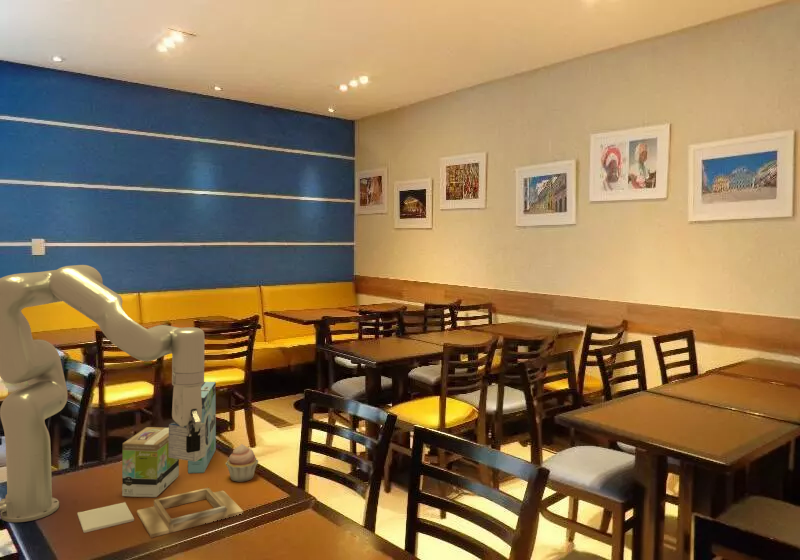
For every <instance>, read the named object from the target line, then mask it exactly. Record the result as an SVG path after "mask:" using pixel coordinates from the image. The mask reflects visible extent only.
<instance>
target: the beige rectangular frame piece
mask: <svg viewBox="0 0 800 560" xmlns="http://www.w3.org/2000/svg"><path fill="white" fill-rule="evenodd" d="M202 500H207V501H208V503H209V504H210V505H211V506H212V507H213V508H209V509H206V510H201V511H197V512H193V513H189V514H185V515H181V516H177V517H173V518H172V517H171V516H170V515H169V513H168V512H167V510H166V509H168V508H173V507H177V506H181V505H182V506H183V505H185V504H189V503H194V502H197V501H198V502H199V501H202ZM242 513H243V514H244V510H243V509H242V508H241V507H240V506H239V505H238V504H237V502H235V501H234V499H233V498H231V497H230V496H229V494H227V492H226V491H224V490H219V491H213V490H211V488H210V487H205V488H200V489H196V490H192V491H191V490H190V491H187V492H181V493H178V494H177V493H176V494H173V495H169V496H165V497H161V498H156V499H153V506H150V507H149V506H148V507H145V508H140V509H136V514H137V515H138V517H139V519H140V521H141V523H142V524H143V526H144V528H145V530H146V531H147V533H148V536H149V537H150V538H151V539H152V538H155V537H158V536H164V535H167V534H172V533H175V532H178V531H183V530H186V529H191V528H194V527H199V526H201V525H206V524H210V523H214V522H217V520H218V521H221V519H222V520H225V518H226V519H229V517H230V518H233V516H234V517H237V516H240V515H239V514H241V515H243V514H242ZM236 515H237V516H236ZM213 521H214V522H213ZM205 523H206V524H205Z"/></svg>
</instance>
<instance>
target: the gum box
mask: <svg viewBox="0 0 800 560" xmlns="http://www.w3.org/2000/svg"><path fill="white" fill-rule="evenodd" d="M216 390H217V389H216V381H204V384H202V385H201V398H202V420H201V423H205V456H204V457H203V458H201V459H199V460H198V461H196V462H194V461H188V460H187V473H188V474H204V473H205V472H206V469H207V468H208V466H209V464H210V461H211V460H212V458H213V456H214V454H215V453H216V450H217V449H216V447H217V445H216V444H217V442H216V441H217V440H216V439H217V438H216V435H217V432H216V429H217V427H216V426H217V423H216V421H217V420H216V415H217V414H216V411H217V410H216V409H217V408H216V407H217V405H216V400H217V399H216V396H217V395H216V394H217V393H216V392H217V391H216Z"/></svg>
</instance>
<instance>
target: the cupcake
mask: <svg viewBox="0 0 800 560" xmlns="http://www.w3.org/2000/svg"><path fill="white" fill-rule="evenodd" d="M258 463H259V459H257V457H256V454H255V453H254V450H253V449H252V448H250V447H247V446H246V445H245V444H243V443H241V444H240V445H238V446H237V447H235V448H234V449H233V450H232V452H231V454H230V455H229V457H228V459H227V461H226V462H225V465H226V468H227V470H228V472H229V473H228V474H229V477H230V479H231V480H232V481H233V482H238V483H240V482H241V483H242V482H249V481H250V480H252V479H253V478H254V475H255V472H256V467H257V465H258Z"/></svg>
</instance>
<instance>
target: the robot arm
mask: <svg viewBox="0 0 800 560" xmlns="http://www.w3.org/2000/svg"><path fill="white" fill-rule="evenodd" d="M102 277H103V276H102V275H101V272H100V271H98V270H97V269H96V268H95V267H93V266H90V265H87V264H77V265H76V264H75V265H65V266H62V267H59V268H58V269H54V270H45V271H44V270H43V271H37V272H21V273H13V274H9V275H5V276H2V277H0V378H1V379H2V381H3V382H6V383H7V384H12V385H14V384H15V385H17V384H21V383H24V382H27V385H26V386H24V387H21V388H19V389H17V390H14V391H13V392H11V393H10V394H8V395H7V396H6V397H5V398H4V400H3V401H2V402H1V405H0V421H1V424H2V428H3V432H4V433H3V434H4V441H5V459H6V460H5V463H6V464H5V465H6V492H7V494H5V498H0V519H1V520H2V521H5V522H8V523H25V522H32V521H35V520H39V519H40V520H41V519H42V518H45V517H47V516H49V515H52V514H54V513H55V512H56V511H57V510H58V509H59V507H60V500H58V498H55V497H53V492H52V491H53V489H52V488H53V487H52V486H53V485H52V483H53V482H52V454H51V453H52V451H51V436H50V432H49V430H48V428H47V425H46V422H45V420H46V419H48V418H51V417H52V416H54V415H57V414H58V413H59V412H61V411H62V410H63V409H64V408H65V406H66V404H67V402H68V387H67V383H66V378H65V374H64V368H63V364H62V360H61V357H60V354H59V352H58V350H57V348H56V347H55V346H54V345H53V344H52V343H51V342H49V341H47V340H45V339H34V337H33V335H32V329H31V325H30V323H29V321H28V319H27V318H26V316H25V315H24V314H23V313H22V311H23V309H25V308H31V307H37V306H38V307H39V306H42V305H48V304H54V303H61V302H63V303H65V304H67V305H68V306H69V307H71V308H73V309H74V310H76V311H77V312H79V313H80V314H82V315H84V316H85V317H86V318H88V319H89V320H91V321H92V322H94V323H96V324H97V325H98V327H99V329H100V331H101V332H102V334H103V335H104V336H105V337H106V339H107V340H108V341H110V343H111V344H112V345H114V346H116V348H117V349H120V350H121V351H123V352H124V353H126V354H128V355H129V356H130V357H132V358H134V359H136V360H139V361H142V362H152V361H155V360H157V359H159V358H162V357H163V356H167V355H170V354H172V356H171V360H172V361H171V370H172V371H171V385H172V386H173V390H172V404H171V405H172V408H171V417H172V420H173V422H176V423H177V424H178V425H180V426H181V427H184V426H186V428H187V433H188V436H186V452H187V453H190V452H195V451H200V434H201V433H200V430H201V429H200V425H201V420H202V398H201V385H202V384H204V382H205V331H204V330H203V329H201V328H199V327H194V326H193V327H189V326H188V327H177V326H173V325H172V326H171V325H165V324H164V325H163V324H161V325H160V324H159V325H155V326H152V327H150V328H146V327H145V326H143V325H141V324H139V323H138V322H137V321H135V320H134V319H133V318H132V317H130V316H129V315H128V314H127V313H126V312H125V310H124V308H123V298H122V296H121V295H120V294H119V293H117V292H116V291H113V290H112V289H111V288H109V287H108V286H106V285H104V284H103V278H102ZM190 422H193V423H190ZM190 427H192V429H191V430H190Z"/></svg>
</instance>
